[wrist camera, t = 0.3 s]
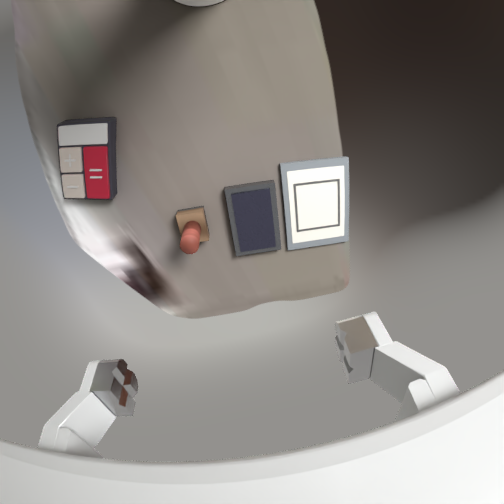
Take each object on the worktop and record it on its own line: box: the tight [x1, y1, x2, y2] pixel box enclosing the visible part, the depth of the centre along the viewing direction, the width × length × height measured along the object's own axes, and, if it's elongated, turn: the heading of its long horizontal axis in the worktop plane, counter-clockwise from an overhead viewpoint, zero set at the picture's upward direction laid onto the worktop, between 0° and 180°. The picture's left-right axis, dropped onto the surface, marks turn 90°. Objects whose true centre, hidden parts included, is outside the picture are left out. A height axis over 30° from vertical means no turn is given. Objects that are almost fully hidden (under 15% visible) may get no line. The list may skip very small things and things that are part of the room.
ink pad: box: [225, 180, 281, 256], centre depth 58 cm, size 14×9×2 cm, turn 8°
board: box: [280, 157, 349, 250], centre depth 58 cm, size 18×13×1 cm
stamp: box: [176, 206, 209, 254], centre depth 55 cm, size 6×5×9 cm
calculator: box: [57, 117, 117, 200], centre depth 48 cm, size 11×4×15 cm
